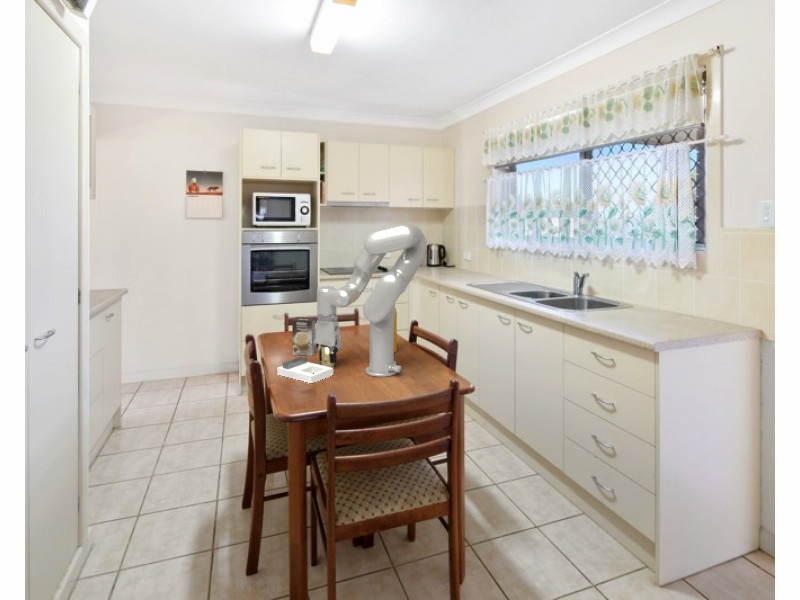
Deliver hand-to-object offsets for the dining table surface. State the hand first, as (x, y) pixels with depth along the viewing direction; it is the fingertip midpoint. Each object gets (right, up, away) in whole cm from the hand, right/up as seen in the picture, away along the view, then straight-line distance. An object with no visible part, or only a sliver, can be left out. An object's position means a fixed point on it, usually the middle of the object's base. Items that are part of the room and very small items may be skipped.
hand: (327, 360), depth 195 cm
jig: (-7, -4, -9) cm, 12 cm away
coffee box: (-13, 0, +20) cm, 24 cm away
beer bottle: (+23, +1, +24) cm, 34 cm away
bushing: (0, -3, +1) cm, 3 cm away
